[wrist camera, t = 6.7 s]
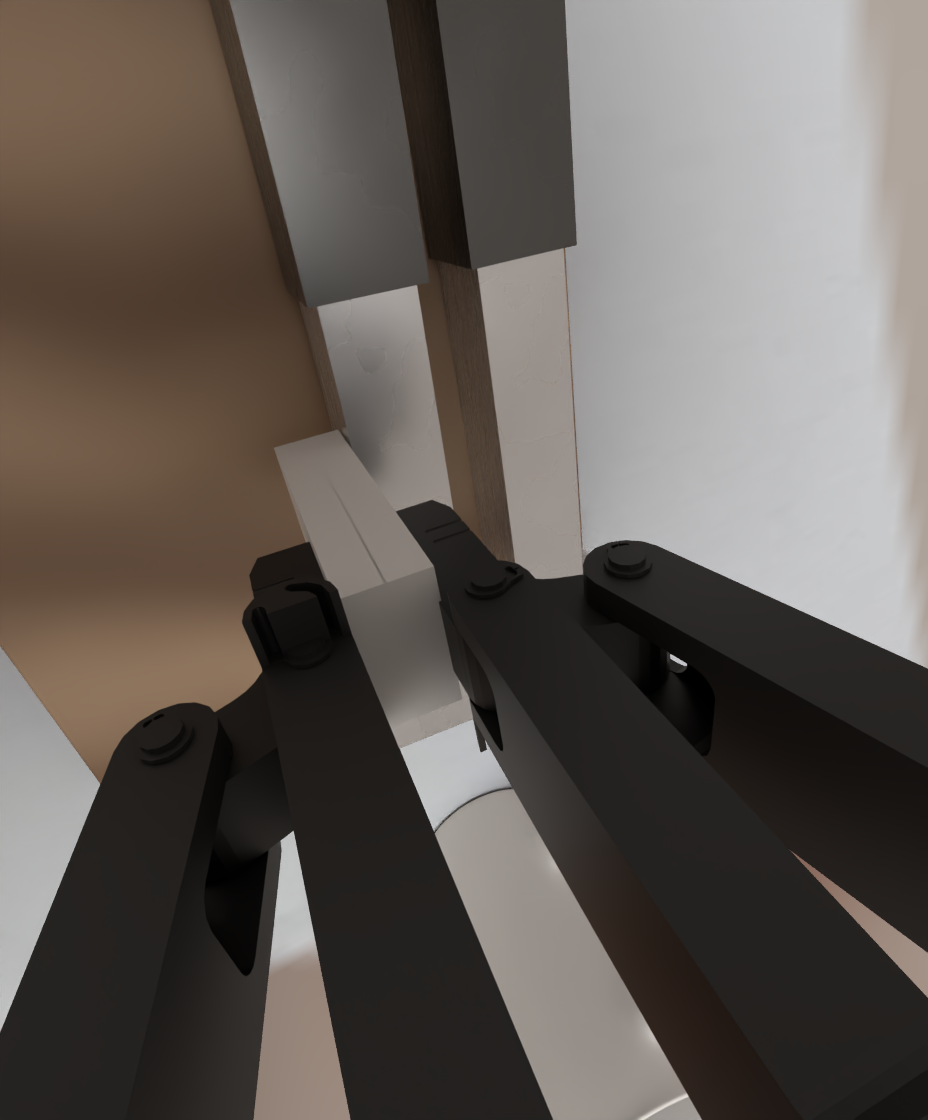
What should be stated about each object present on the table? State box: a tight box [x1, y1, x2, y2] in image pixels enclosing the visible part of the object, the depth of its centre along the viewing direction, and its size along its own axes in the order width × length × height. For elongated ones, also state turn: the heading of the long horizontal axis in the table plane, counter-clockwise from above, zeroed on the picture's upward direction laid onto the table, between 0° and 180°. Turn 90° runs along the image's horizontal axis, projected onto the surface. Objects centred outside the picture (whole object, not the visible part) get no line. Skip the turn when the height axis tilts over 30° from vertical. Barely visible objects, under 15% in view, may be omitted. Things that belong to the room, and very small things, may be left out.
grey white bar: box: [387, 0, 588, 579], centre depth 14 cm, size 26×6×3 cm, turn 9°
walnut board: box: [0, 0, 582, 784], centre depth 14 cm, size 28×16×2 cm, turn 9°
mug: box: [435, 789, 702, 1120], centre depth 24 cm, size 10×7×12 cm, turn 158°
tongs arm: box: [209, 0, 473, 748], centre depth 13 cm, size 26×6×3 cm, turn 8°
